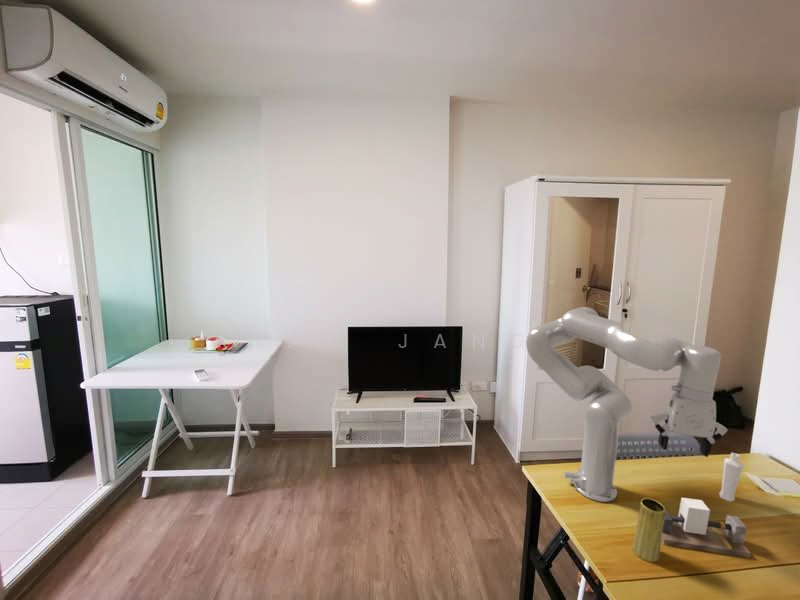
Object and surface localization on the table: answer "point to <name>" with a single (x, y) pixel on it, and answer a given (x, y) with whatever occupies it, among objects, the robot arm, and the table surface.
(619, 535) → the table surface
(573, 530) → the table surface
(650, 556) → the vase
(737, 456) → the perfume bottle
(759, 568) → the table surface
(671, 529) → the linear slide rail
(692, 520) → the notched white rod block
